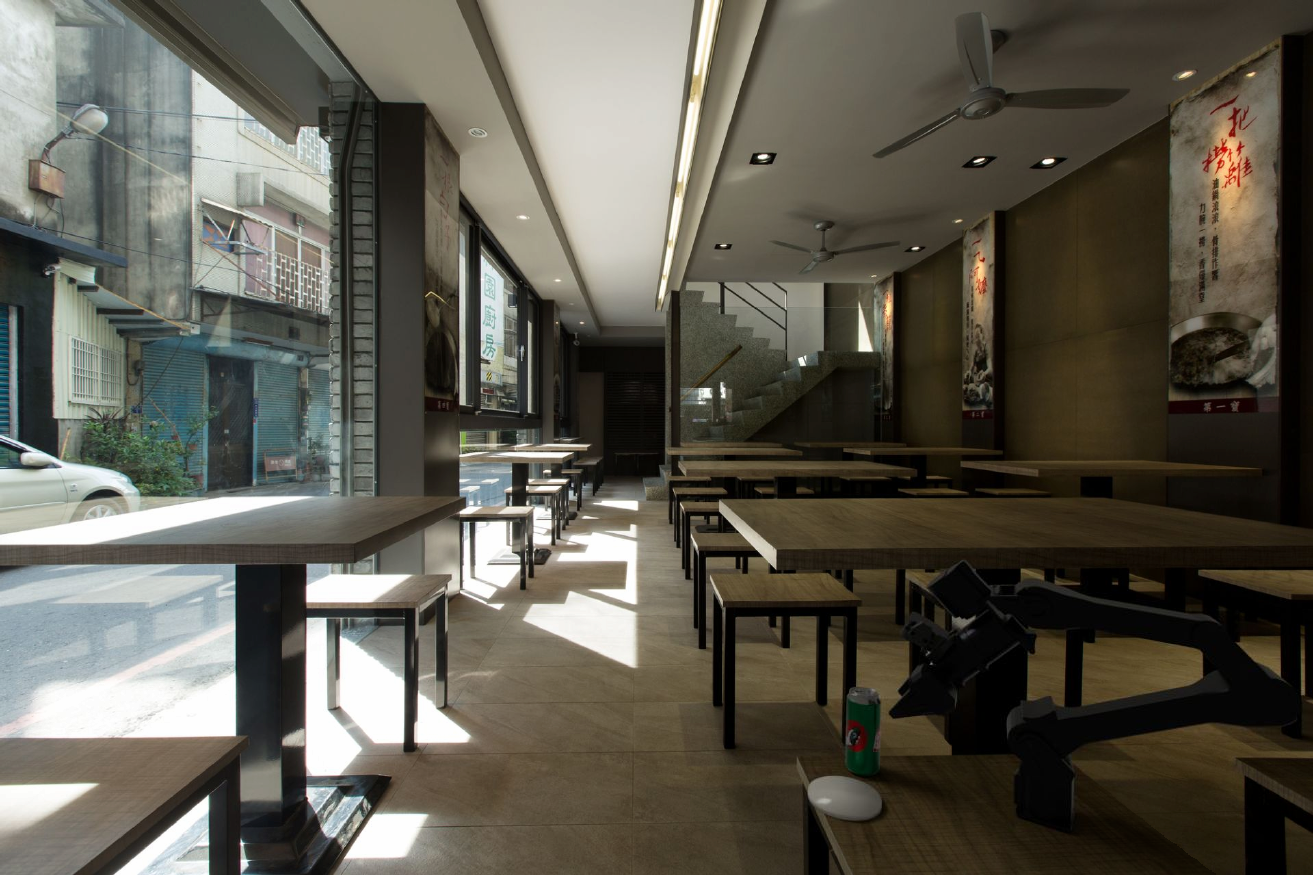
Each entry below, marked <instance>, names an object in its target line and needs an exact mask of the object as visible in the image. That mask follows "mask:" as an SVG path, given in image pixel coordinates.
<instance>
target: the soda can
mask: <svg viewBox="0 0 1313 875" xmlns="http://www.w3.org/2000/svg"><path fill="white" fill-rule="evenodd" d="M848 691H849V692H848V694H847V695H846V706H845V707H846V709H845V710H846V711H845V712H846V715H845V716H846V717H845V722H846V723H845V757H846V758H845V762H844V763H845V766H846V768H847V769H848V770H849V772H851V773H853V774H855V775H857V776H859V777H860V776H861V777H873V776H875V775H876V774H877V773H879V771H880V767H881V765H880V764H881V727H882V725H881V722H882V720H881V719H882V718H881V717H882V699H881V698H880V697H879V696H880V695H879V692H878V691H877V690H875V689H873V688H870V687H865V686H854V687H850V689H849V690H848Z"/></svg>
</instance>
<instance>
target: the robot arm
mask: <svg viewBox="0 0 1313 875" xmlns="http://www.w3.org/2000/svg"><path fill="white" fill-rule="evenodd" d="M925 588H926V589H927V590H928V592H930V594H931V595H932V596H934V598H935V599H936V600H937V601H938V602H939V603H940V604H941V605H942V607H943V608H944V609H946V611H947V612H948V613H950V615H951V616H952V618H954V619H957V618H960V619H961V620H964V619H965V621H968V620H970V619H971V618H974V617H975V616H977V615H978V614H979V613H980V612H981V611H983V610H984V609H985V608H986V610H985V611H984V612H982V613H981V614H979V615H978V616H977V617H976V618H974V619H972V621H970V622H969V623H967V624H966V625H965V626H963V627H962V628H961V627H958V628H957V627H955V628H953V629H952V630H950V631H948V630H946V629H945V628H943V627H942V626H941V625H939V624H937V623H935V622H934V621H932V620H931V619H929V618H927V617H925V616H924V615H923V614H920V613H919V612H915V611H911V613H910V615H909V617H908V618H907V620H906V622H905V624H904V626H903V627H902V629H901V631H900V632H899V634H900V636H901V638H903V639H904V640H906V641H907V642H911V643H914V644H915V645H917V646H918V647H920V650H919V651H920V652H919V664H918V665H917V666H916V668H915V669H914V670H913V671H912V672H911V673H910V675H909V676H908V677H907V679H906V680H905V681H904V682H903V683H902V685H901V686H900V687H899V688H898V689H897V693H898V694H899V695H900V696H901V697H900V698H899V699H898V700H897V702H895V704H894V705H893V706H892V707H891V708H890V710H889V711H888V715H889V717H891V719H893V720H896V719H904V718H905V719H906V718H912V717H914V718H915V717H922V716H923V717H924V716H937V717H940V716H941V717H944V718H945V717H946V716H948V715H949V714H951V713H952V712H954V711H955V710H956V707H957V706H956V705H957V701H958V696H957V695H958V691H960V690H961V689H963V688H965V685H966V682H967V681H968V680H969V679H971V678H973V677H974V676H976V675H977V674H978V673H981V674H982V675H983V674H984V673H986V672H987V671H989V666H990V665H991V664H992V663H994V662H995V661H997V660H998V659H999V658H1001V657H1003V656H1004V655H1005V654H1006V653H1008V652H1010V651H1011V650H1012V649H1013V648H1015V647H1017V646H1018V645H1019V644H1020V645H1021V646H1022V647H1023V648H1024V649H1025V650H1026V651H1027V652H1028V653H1029V654H1030V655H1035V654H1036V641H1037V638H1038V632H1037V630H1053V631H1054V630H1055V631H1066V630H1078V629H1079V630H1080V629H1082V630H1083V629H1085V630H1086V629H1087V630H1094V631H1100V632H1105V633H1111V634H1117V635H1121V636H1127V637H1133V638H1138V639H1143V640H1148V641H1153V642H1158V643H1164V644H1168V645H1175V646H1180V647H1186V648H1191V649H1196V650H1198V651H1200V652H1201V653H1202V654H1203V655H1204V656H1205V658H1206V659H1208V661H1209V662H1210V663H1211V664H1212V665H1213V666H1214V667H1215V668H1216V669H1215V670H1213V671H1211V672H1209V673H1208V674H1206V675H1204V676H1203V677H1202V678H1200V679H1198V680H1197V681H1196V682H1194V683H1192V684H1189V685H1184V686H1179V687H1175V688H1173V687H1172V688H1168V689H1164V690H1162V689H1161V690H1159V691H1154V692H1149V693H1142V694H1137V695H1131V696H1126V697H1121V698H1117V699H1111V700H1107V701H1101V702H1096V703H1090V704H1085V705H1081V706H1076V707H1075V706H1073V707H1071V706H1070V707H1068V706H1063V705H1055V704H1054V700H1053V696H1051V695H1047V696H1043V697H1041V698H1037V699H1035V700H1023V699H1021V700H1020V705H1018V706H1016V707H1014V708H1012V709H1011V710H1010V712H1009V714H1008V716H1007V717H1006V734H1007V744H1008V746H1009V747H1008V748H1009V750H1011V753H1012V754H1013V755H1014V756H1015V757H1017V759H1019V760H1020V763H1019V765H1018V767H1017V768H1016V770H1015V772H1014V775H1013V804H1014V805H1015V807H1016V808H1015V810H1014V811H1015V813H1014V815H1016V816H1017V817H1020V818H1023V819H1026V820H1029V821H1032V822H1035V823H1038V824H1041V825H1045V826H1047V827H1051V828H1054V829H1058V830H1060V831H1063V832H1067V833H1071V832H1072V830H1073V825H1074V824H1073V823H1074V819H1075V815H1076V808H1075V807H1074V801H1075V800H1074V799H1075V798H1074V796H1075V776H1076V774H1075V769H1074V766H1073V765H1074V764H1073V761H1072V757H1071V755H1072V754H1074V753H1075V752H1076V751H1078V750H1080V749H1082V748H1083V747H1085V746H1087V745H1090V744H1094V743H1100V742H1101V743H1102V742H1107V741H1112V740H1119V739H1123V738H1130V737H1136V736H1141V735H1142V736H1143V735H1147V734H1153V733H1161V732H1165V731H1172V730H1176V729H1177V730H1178V729H1183V728H1188V727H1194V726H1200V725H1205V724H1218V725H1219V724H1220V725H1225V726H1226V725H1227V726H1235V727H1241V728H1242V727H1243V728H1281V727H1282V728H1283V727H1286V726H1289V725H1293V724H1294V723H1295V722H1297V720H1298V718H1299V717H1300V715H1301V713H1302V711H1303V710H1302V708H1303V701H1302V699H1301V696H1300V694H1299V692H1297V690H1296V689H1295V687H1293V686H1292V685H1291V684H1290V683H1288V682H1287V681H1286V680H1285V679H1284V678H1282V677H1281V676H1280V675H1279V674H1278V673H1276V672H1275V671H1274V670H1273V669H1271V668H1270V667H1269V666H1266V665H1264V664H1262V663H1260V662H1257V661H1255V660H1254V659H1253V658H1252V657H1251V656H1250V655H1249V654H1248V653H1247V652H1246V651H1245V650H1244V649H1243V648H1242V647H1241V646H1240V645H1239V644H1238V643H1237V642H1236V641H1235V639H1233V638H1232V637H1231V636H1230V635H1229V632H1228V631H1227V629H1226V628H1225V627H1224V626H1223V625H1222V624H1221V623H1219V622H1218V621H1217V620H1216V619H1214V618H1213V617H1211V616H1210V615H1207V614H1204V613H1187V612H1182V611H1181V612H1180V611H1176V610H1169V609H1164V608H1157V607H1152V606H1148V605H1140V604H1135V603H1129V602H1123V601H1122V602H1121V601H1118V600H1117V601H1116V600H1111V599H1105V598H1098V597H1094V596H1090V595H1086V594H1083V593H1080V592H1077V591H1075V590H1072V589H1070V588H1067V587H1065V586H1062V585H1059V584H1056V583H1053V582H1050V581H1047V580H1043V579H1041V578H1038V577H1037V578H1035V577H1033V578H1031V577H1027V578H1024V579H1022V580H1021V581H1019V582H1018V583H1016V584H990V585H989V584H988V583H987V582H986V581H984V579H983V578H982V577H980V575H979V574H978V573H977V572H976V571H975V570H974V569H973V567H972V566H971V564H970V563H969V562H968V561H967V560H966V559H964V558H963V559H961V560H960V561H959V562H958V563H955V564H953V565H952V566H951V567H949V568H948V569H947V568H946V569H944V570H943V571H941V573H939V574H937V576H936V577H935V578H933V579H932V580H931V581H930V582H929V583H928V584H927V585H926V587H925ZM1020 622H1021V623H1020ZM1022 624H1023V625H1022ZM1024 626H1026V627H1029V628H1032V629H1028V628H1025V627H1024ZM956 689H957V690H956Z"/></svg>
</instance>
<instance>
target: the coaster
mask: <svg viewBox="0 0 1313 875" xmlns="http://www.w3.org/2000/svg"><path fill="white" fill-rule="evenodd" d="M807 798H808V800H809V802H810V804H811V805H812V806H813V807H814V808H815V809H816V810H818V811H819V812H821V813H823V814H825V815H827V816H829V817H832V818H835V819H839V820H843V821H851V822H862V821H869V820H871V819H874V818H876V817H877V816H878V815H880V813H881V812H882V807H883V805H882V803H883V800H882V797H881V795H880V793H879V792H878V791H877V789H875V788H874V787H873V786H871V785H869V784H868V783H867V782H864V781H861V780H858V779H857V778H856V779H855V778H851V777H848V776H841V775H828V776H827V775H826V776H822V777H817V778H816V779H814V780H812V781H811V782H810V784H808V787H807Z"/></svg>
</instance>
